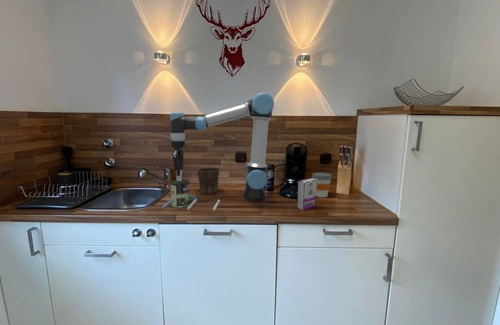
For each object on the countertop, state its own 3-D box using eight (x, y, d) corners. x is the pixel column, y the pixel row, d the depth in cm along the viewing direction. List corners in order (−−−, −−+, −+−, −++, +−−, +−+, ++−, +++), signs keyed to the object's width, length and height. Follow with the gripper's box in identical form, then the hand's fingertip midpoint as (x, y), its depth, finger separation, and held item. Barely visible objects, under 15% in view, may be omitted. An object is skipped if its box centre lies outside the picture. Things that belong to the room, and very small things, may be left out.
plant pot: (194, 190, 171) (193, 168, 169) (215, 187, 179) (215, 166, 176) (200, 196, 157) (200, 172, 155) (223, 193, 165) (223, 170, 162)
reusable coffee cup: (327, 199, 153) (329, 176, 151) (308, 196, 160) (309, 174, 157) (332, 194, 164) (333, 173, 161) (314, 191, 170) (315, 171, 168)
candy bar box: (309, 204, 143) (310, 178, 141) (316, 206, 139) (317, 179, 137) (296, 208, 137) (297, 180, 134) (303, 210, 133) (304, 182, 130)
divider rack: (220, 200, 149) (220, 196, 148) (214, 210, 131) (214, 206, 130) (173, 199, 150) (173, 195, 150) (161, 209, 133) (161, 204, 132)
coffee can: (192, 202, 144) (191, 180, 142) (184, 208, 134) (183, 184, 132) (176, 201, 146) (176, 179, 144) (167, 207, 136) (166, 183, 134)
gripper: (175, 139, 140) (177, 178, 144) (166, 141, 128) (168, 183, 131) (188, 139, 140) (189, 178, 144) (180, 141, 127) (181, 183, 131)
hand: (179, 180), depth 138 cm, fingers closed
